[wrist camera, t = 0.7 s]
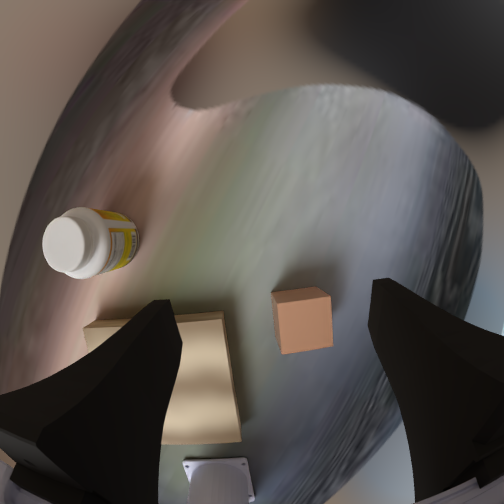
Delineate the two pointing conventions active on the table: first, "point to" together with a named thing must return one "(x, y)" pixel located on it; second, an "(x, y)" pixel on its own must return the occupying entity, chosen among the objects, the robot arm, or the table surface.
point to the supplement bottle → (90, 242)
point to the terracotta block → (302, 319)
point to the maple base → (193, 380)
